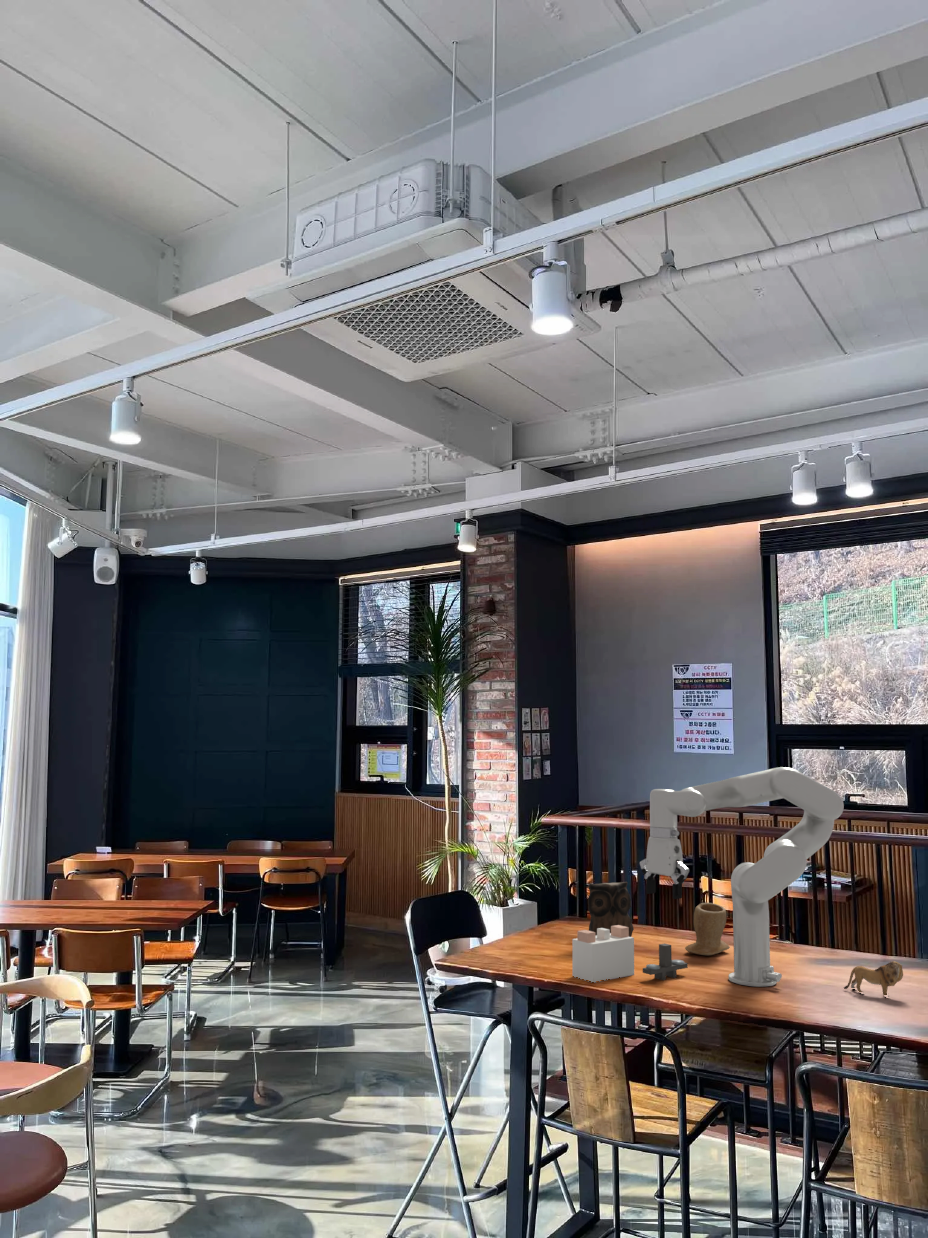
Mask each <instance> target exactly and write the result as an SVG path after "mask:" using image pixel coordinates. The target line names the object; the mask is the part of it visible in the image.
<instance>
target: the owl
mask: <svg viewBox="0 0 928 1238" xmlns="http://www.w3.org/2000/svg"><path fill="white" fill-rule="evenodd" d="M627 886H628V882H627V881H623V882H622V881H621V882H603V883H589V884H588V890H589V891H588V892H589V895H588V897H587V910H588V912H589V914H590V915H589V916H590V921H589V925H588V931H592V932H595V936H596V935H597V929H598V928H605V929H609V930H610V933H611V926H615V925H621V926H625V927H629V937H633V931H634V930H635V928H634V925H633V924H632V923H633V919H632V918H631V916H630V915H629V910H630V909H631V908H632V899H631V894H630V893H629V891H628V888H627Z"/></svg>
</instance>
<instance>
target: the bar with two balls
mask: <svg viewBox="0 0 928 1238" xmlns="http://www.w3.org/2000/svg"><path fill="white" fill-rule="evenodd" d="M672 956H673V955H672V945H671V944H670V943H660V944H658V964H654V963H652V964H651V963H650V964H646V967H642V973H643V974H646V975H650V976H651V975H652V976H653V975H654V979H657V980H660V981H665V980H666V979H667V977H669V978H673V979H675V978H677V977H678V976H677V971H678V970H683V969H688V967H689V964H688V963H687V962H685V961H684V960H682V959H672V958H673V957H672Z"/></svg>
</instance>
